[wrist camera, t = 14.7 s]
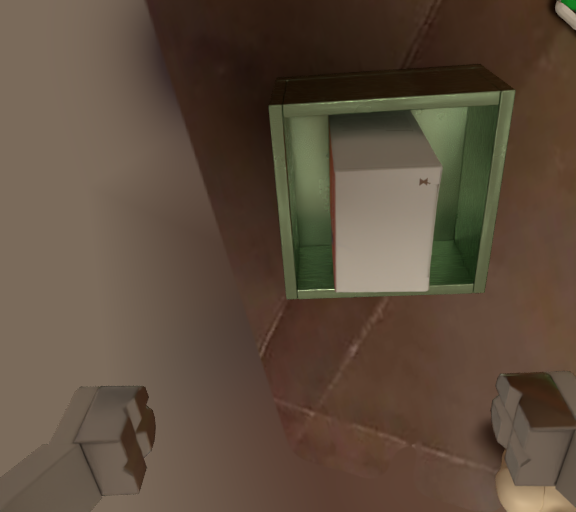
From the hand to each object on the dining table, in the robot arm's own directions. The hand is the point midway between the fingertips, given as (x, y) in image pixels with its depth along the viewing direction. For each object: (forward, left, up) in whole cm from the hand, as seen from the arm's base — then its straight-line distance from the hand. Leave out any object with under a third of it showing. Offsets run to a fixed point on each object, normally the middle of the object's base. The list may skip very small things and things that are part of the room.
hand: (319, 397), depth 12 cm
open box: (+4, -5, -28) cm, 28 cm away
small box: (+3, -5, -27) cm, 27 cm away
